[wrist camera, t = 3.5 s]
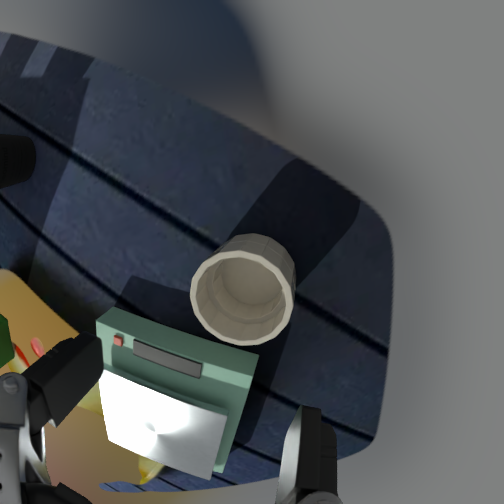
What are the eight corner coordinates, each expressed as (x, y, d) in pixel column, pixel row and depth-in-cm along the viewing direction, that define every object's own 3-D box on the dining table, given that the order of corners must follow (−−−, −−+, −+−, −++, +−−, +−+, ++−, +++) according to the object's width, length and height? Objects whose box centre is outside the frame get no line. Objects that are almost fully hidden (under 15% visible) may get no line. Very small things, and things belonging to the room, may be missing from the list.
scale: (259, 354, 25) (252, 378, 22) (228, 454, 30) (221, 475, 27) (113, 306, 26) (93, 321, 23) (119, 414, 31) (107, 431, 28)
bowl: (306, 244, 21) (304, 267, 17) (284, 319, 23) (277, 356, 19) (221, 222, 22) (198, 239, 17) (207, 298, 24) (185, 329, 19)
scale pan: (229, 409, 22) (227, 416, 21) (211, 475, 26) (209, 480, 25) (101, 360, 24) (96, 365, 23) (111, 435, 27) (108, 440, 26)
